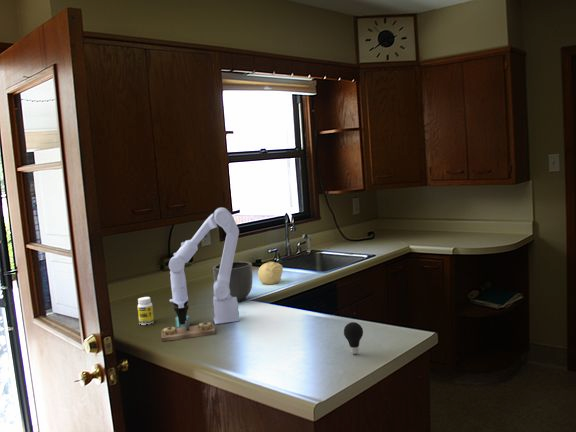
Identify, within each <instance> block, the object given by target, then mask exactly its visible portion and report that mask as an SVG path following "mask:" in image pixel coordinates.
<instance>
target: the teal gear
mask: <svg viewBox="0 0 576 432" xmlns="http://www.w3.org/2000/svg"><path fill="white" fill-rule="evenodd" d="M186 320H188V321H189V326H191V322H190V320H191V319H190V315H188V314H187V315H186ZM180 327H186V324H180V322H179V319H178V316H176V317H175V328H180Z"/></svg>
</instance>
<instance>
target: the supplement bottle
mask: <svg viewBox="0 0 576 432" xmlns="http://www.w3.org/2000/svg"><path fill="white" fill-rule="evenodd" d="M151 300H152V299H151V297H150V296H143V297H139V298H137V303H138V304H137V313H138V314H137V315H138V324H139V325H140V324H141V326H146V324H148V325H152V324H154V322H155V319H154V318H155V316H154V309H153V308H154V307H153V303H152V301H151ZM151 323H152V324H151Z"/></svg>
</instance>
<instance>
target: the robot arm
mask: <svg viewBox="0 0 576 432" xmlns="http://www.w3.org/2000/svg"><path fill="white" fill-rule="evenodd" d="M218 226H219V227H220V228H222V229H223V231H224V232H225V234H226V236H225V240H224V245H223V251H222V255H221V260H220V263H219V264H220V269H219V273H218V277H217V280H216V281H215V282H213V285H212V288H213V289H212V290H213V295H214V296H213V297H212V302H213V312H214V317H213V322H214V324H215V325H220V324H227V323H232V322H239V321H240V320H241V319H240V312H239V302H237V297H232V296H231V295H230V288H229V283H230V275H231V270H232V265H233V262H234V259H235V255H236V249H237V245H238V240H239V234H240V229H239V227H238V224H237V222H236V220H235V219H234V216H233V214H232V213H231V212H230V210H228V209H227V208H226V207H223V206H222V207H217V208H216V209H215V210H214V212H213V213H211V214H210V215H209V216H208V217H207V218H206V219H205V220H204V222H203V223H202V225H201V226H200V227H199V229H198V230H197V231H196V232H195V234H194V235H193V236H192V238H191V239H187V240H185V241H182V242H181V243H180V247H179V249H178V250H177V251H176V252H174V253H173V254H172V255H173V256H172V257H171V258H170V259H169V262H168V268H169V270H170V271H169V274H170V287H171V294H172V295H171V297H172V298H170V299H169V302H170V303H172V304H173V305H174V306H173V310H174V312H175V313H176V317H178V319H179V322H180V324H185V321H186V315H188V310H189V307H190V306H189V305H188V303H189V297H188V286H187V279H186V274H185V264H187V263H189V261H190V260H191V259H192V257H193V256H194V255H195V254H196V253H197V251H198V250H199V249H198V245H199V244H200V242H201V241H202V240H203V239H204V238H205V236H206V235H207V234H208V233H209V232H210V230H212V229H216V228H218Z"/></svg>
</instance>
